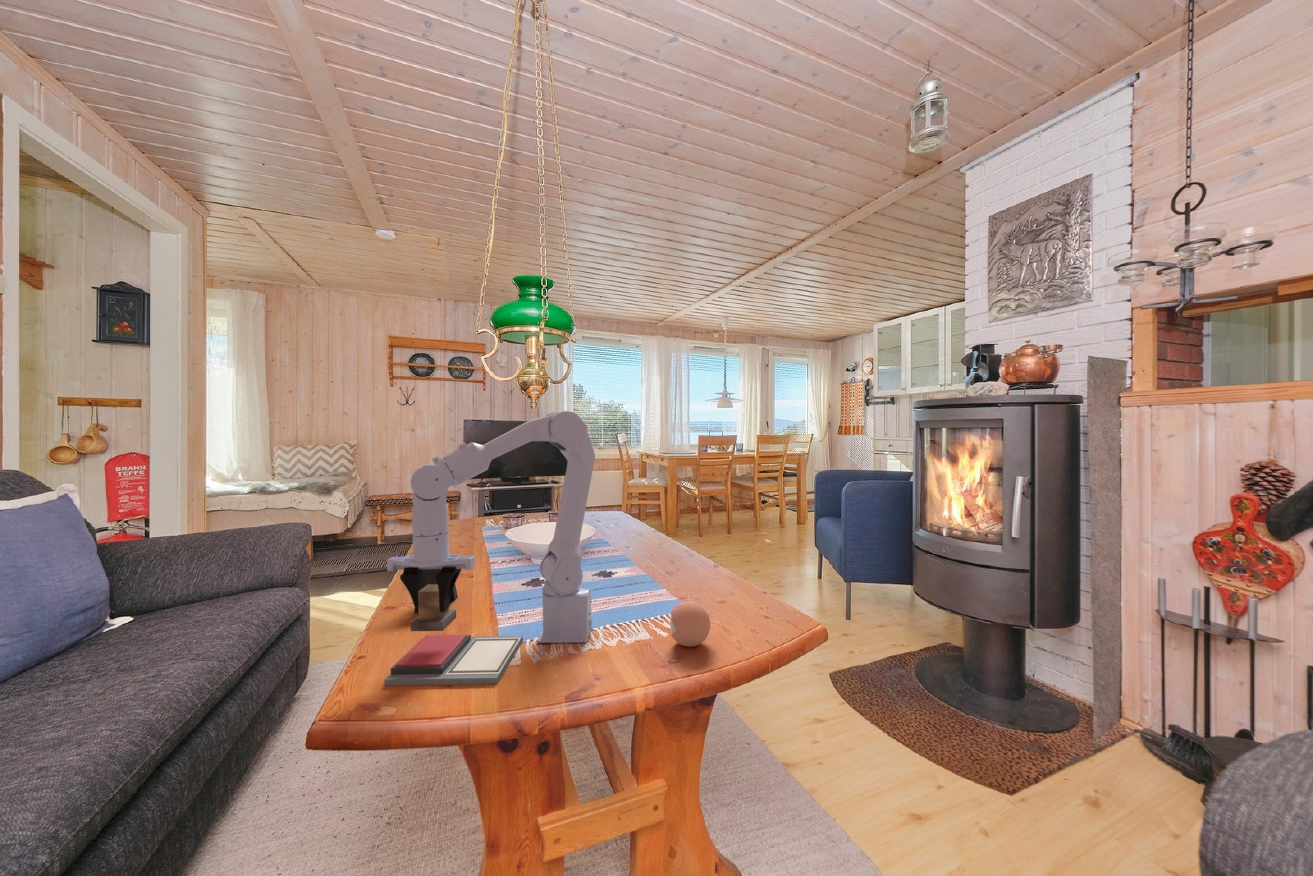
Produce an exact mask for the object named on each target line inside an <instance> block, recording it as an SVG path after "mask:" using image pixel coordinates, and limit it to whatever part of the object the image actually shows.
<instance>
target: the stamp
mask: <svg viewBox="0 0 1313 876" xmlns="http://www.w3.org/2000/svg"><path fill="white" fill-rule="evenodd" d="M449 608H450V607H449ZM449 608H448V609H447V610H446V611H445V612H440V607H439V589H438V584H428V585H427V586H425V587H424V588H422V589H421V590H420V591H418V612H419V613H418V616H417V617H415V618H414V619H412V621H410V623H409V624H410V625H409V626H410V627H409V628H410V632H444V631H445V630H446V629H447V627H449V625H450V624H451V623H453V621H455V619H457V609H456V608H455V609H454V608H452V609H449Z"/></svg>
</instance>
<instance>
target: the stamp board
mask: <svg viewBox="0 0 1313 876" xmlns="http://www.w3.org/2000/svg"><path fill="white" fill-rule="evenodd" d="M522 641H523V642H524V635H484V636H483V635H482V636H481V635H479V636H478V635H477V636H476V635H475V636H472V635H471V634H427V635H425V636H424V637H423V638H421V639H420V640H419V642H417V643H416V644H415V645H414V646H413V647H412V648H411V649H410V650H409V651H408V652H407V653H406V654H404V656H402V657H401V659H399V660H398V661H397V662H396V663H395V664H393V666H392V667H391V668H390V673H389V674H388V676H386V677H385V678H384V680H383V682H384V683H383V684H384V687H385V686H386V687H387V686H388V687H390V686H393V687H394V686H395V685H398V687H399V685H401V686H450V685H451V686H452V685H453V686H454V685H455V686H456V685H458V684H462V685H463V684H464V685H497V684H498V683H499V681H500V680H501V678H502V676H503V675H504V674H505V671H506V669H507V668H508V667H509V665H510V663H511V662H512V659H514V656H515V655H516V653H517V652H518V650H519V648H520V647H521V645H522V643H523V642H522ZM519 646H520V647H519ZM432 684H433V685H432ZM462 685H461V686H462Z"/></svg>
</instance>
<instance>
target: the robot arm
mask: <svg viewBox="0 0 1313 876" xmlns="http://www.w3.org/2000/svg"><path fill="white" fill-rule="evenodd" d="M588 429H589V427H588V425H587V424H586V422H585V421H583V419H582V418H581V417H580V416H579V415H578V414H577V413H575V412H573V411H569V410H563V411H561V412H555V411H554V412H550V413H548V414H547V415H545V416H539V417H536V418H534V419H531V420H528V421H526V422H524V423H522V424H520V425H518V426H516V427H514V428H512V429H510V430H509V431H507V432H505V433H503V434H501V435H499V436H497V437H495V438H494V439H492V440H490V441H488V442H487V443H484V444H481V443H477V442H473V441H472V442H469V443H466V442H462V443H460V444H458V446H457V447H458V448H457V449H456V450H453V451H451V452H449V453H447V454H445V455H443V456H440V457H439V456H435V457H433V458H432V459H431V460H432V462H433V463H434V464H433V463H426V464H423V465H420V466H419V467H418V468H416V469H415V471H414V472H413V474H412V476H411V479H410V487H411V490H412V492H413V494H412V495H413V496H412V498H411V501H412V505H413V507H411V522H412V523H411V524H412V526H411V527H412V528H411V529H412V530H411V532H412V535H411V536H412V555H403V556H392V557H390V558H388V559H387V560H386V571H387V572H390V571H391V572H393V571H396V570H399V571H400V570H403V572H402V574H400V575H399V580H400V581H401V582H402V583H403V585H404V586H405V587H406V589H407V591H408V593H409V596H410V597H411V600H412V603H413V606H414V610H416V612H418V591H420V590H421V589H422V588H424V587H425V586H426V577H427V570H428V569H442V571H440V572H439V573H437V574H436V580H437V583H438V589H439V607H440V612H445V611H446V610H447V609H448V608H450V606H449V604H450V599H451V595H452V591H453V588H454V585H456V582H457V579H458V578H459V575H460V574H461V572H462V570H463V569H464V570H465V571H471V570H472V569H474V568H476V555H464V554H452V553H450V536H449V535H450V533H449V531H450V529H449V528H450V527H449V505H448V504H447V491H449V487H457V486H459V485H461V484H463V483H464V482H467V481H468V480H471V479H472V478H474V477H476V476H478V475H480V474H482V473H484V472H486V471H488V470H489V467H490V464H491V462H492V461H493V460H494V459H496V458H498V457H500V456H503V455H505V454H506V453H509V452H512V451H513V450H516V449H517V448H519V447H522V446H525V445H526V444H528V443H530V442H548V443H550V444H551V445H553V446H554V447H556V448H557V449H558V450H559V451H560V453H561V454H562V455H563V456H564V458H565V459H566V460H567V464H566V465H567V466H566V471H565V476H564V481H563V487H562V493H561V497H560V503H559V507H558V513H557V517H556V523H555V529H554V533H553V538H552V540H551V541H550V542H549V545H548V546H547V551H546V553H545V555H544V557H543V558H542V559H541V561H540V565H539V571H540V572H539V573H540V575H541V577H542V578H543V579H544V580H545V582H544V584H543V586H542V588H541V589H542V590H541V591H542V595H541V596H542V631H540V635H538V638H537V640H536V641H537V643H538V644H551V643H552V644H554V643H555V644H556V643H557V644H559V643H560V644H561V643H562V644H564V643H567V644H571V643H587V642H588V639H589V636H590V633H591V630H592V625H593V623H592V622H593V621H592V593H591V589H588V588H587V589H586V588H582V587H581V584H582V582H583V579H584V578H583V576H584V575H583V570H582V565H581V563H582V552H581V547H580V541H581V536H582V529H583V525H584V520H585V515H586V509H587V508H586V507H587V504H588V497H589V493H590V492H589V491H590V488H591V487H590V486H591V482H592V476H593V475H592V474H593V471H594V465H595V461H596V455H595V449H594V447H593V445H592V442H591V439H590V436H589V432H588V431H589V430H588Z"/></svg>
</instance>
